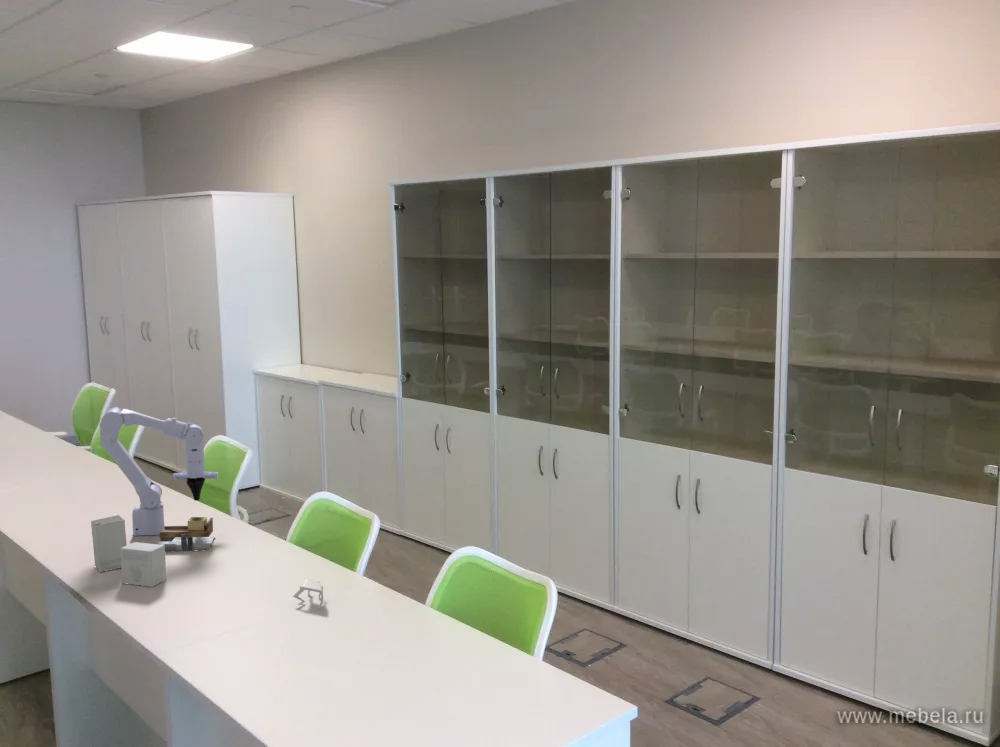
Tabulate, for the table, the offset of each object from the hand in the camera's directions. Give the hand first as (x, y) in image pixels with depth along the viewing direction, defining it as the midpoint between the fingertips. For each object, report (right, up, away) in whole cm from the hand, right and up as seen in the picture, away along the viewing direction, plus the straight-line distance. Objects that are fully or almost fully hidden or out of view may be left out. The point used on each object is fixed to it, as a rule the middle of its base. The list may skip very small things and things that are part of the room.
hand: (196, 499), depth 285 cm
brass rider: (+6, -8, -16) cm, 18 cm away
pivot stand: (+2, -12, -15) cm, 20 cm away
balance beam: (+2, -10, -16) cm, 19 cm away
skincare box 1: (-13, -15, -35) cm, 40 cm away
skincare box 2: (+1, -17, -45) cm, 48 cm away
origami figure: (+53, -19, -59) cm, 81 cm away
